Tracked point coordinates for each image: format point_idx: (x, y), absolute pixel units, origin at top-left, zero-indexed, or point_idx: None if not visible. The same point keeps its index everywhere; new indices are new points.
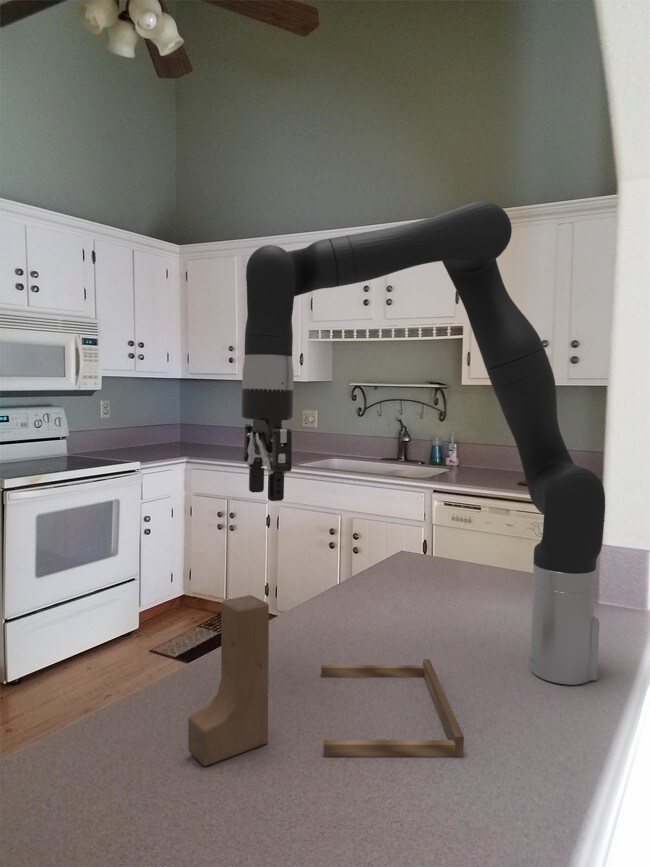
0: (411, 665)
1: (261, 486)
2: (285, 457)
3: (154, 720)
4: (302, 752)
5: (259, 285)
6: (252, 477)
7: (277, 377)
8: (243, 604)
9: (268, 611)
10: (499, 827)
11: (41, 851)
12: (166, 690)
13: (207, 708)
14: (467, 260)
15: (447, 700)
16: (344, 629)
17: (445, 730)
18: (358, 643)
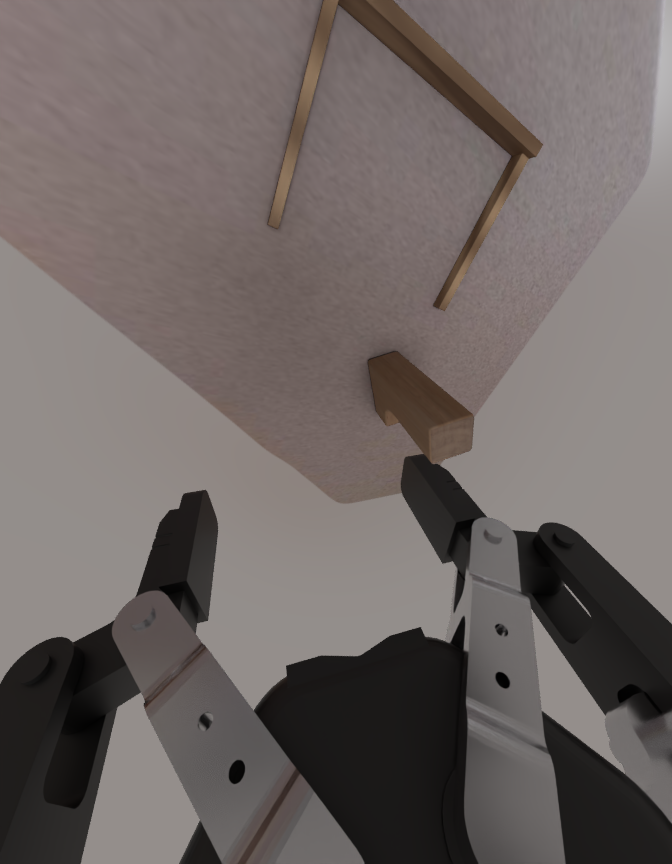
0: (321, 15)
1: (203, 509)
2: (578, 597)
3: (318, 432)
4: (423, 324)
5: None
6: (209, 572)
7: None
8: (461, 444)
9: (467, 410)
10: (594, 203)
11: None
12: (261, 421)
13: (389, 414)
14: None
15: (477, 82)
16: (5, 10)
17: (483, 128)
18: (123, 39)
